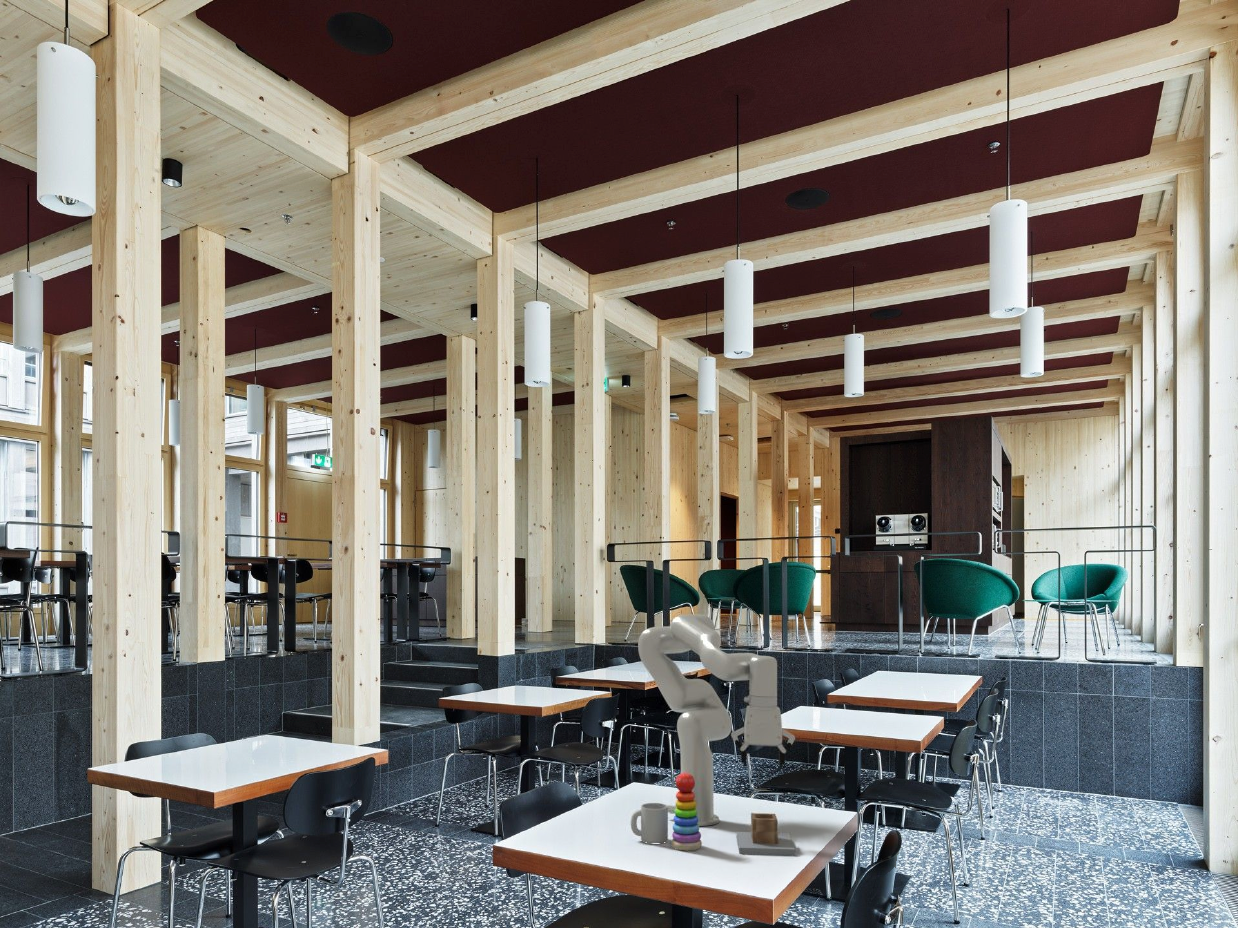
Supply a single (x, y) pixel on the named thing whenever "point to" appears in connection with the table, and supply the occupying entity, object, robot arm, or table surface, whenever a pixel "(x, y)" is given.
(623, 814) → the table surface
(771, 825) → the wooden cube shelf
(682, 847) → the stacking toy
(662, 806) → the cup
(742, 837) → the board
